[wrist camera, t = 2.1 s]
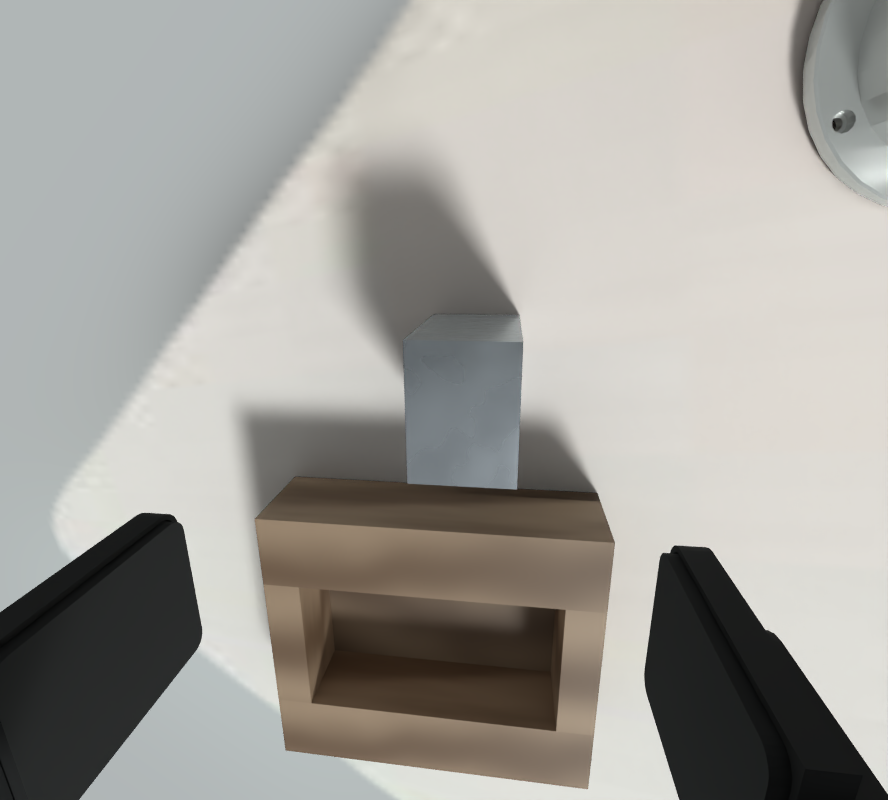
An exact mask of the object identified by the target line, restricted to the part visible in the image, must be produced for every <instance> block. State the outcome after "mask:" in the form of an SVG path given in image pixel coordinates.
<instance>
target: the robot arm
mask: <svg viewBox="0 0 888 800" xmlns="http://www.w3.org/2000/svg"><path fill="white" fill-rule="evenodd" d="M803 104H804V109H805V114H806V119H807V124H808V129H809V132H810V135H811V137H812V139H813V141H814V144H815V146H816V148H817V150H818V153H819V155H820V157H821V158H822V159H823V161H824V162H825V163H826V164H827V166H828V167H829V168H830V170H831V171H832V172H833V174H834V175H835V176H836V177H837V178H838V179H839V180H840V181H842V182H843V183H844V184H845V185H847V186H848V187H849V188H850V189H852V190H853V191H854V192H855V193H857V194H859V195H861V196H863V197H865V198H867V199H869V200H871V201H873V202H875V203H878V204H880V205H883V206H887V207H888V0H823V1H822V3H821V6H820V9H819V11H818V14H817V17H816V20H815V23H814V25H813V28H812V31H811V34H810V37H809V41H808V47H807V52H806V58H805V63H804V69H803ZM832 121H834V122H835V123H836V128H835V130H834V129H833V128H832ZM201 638H202V626H201V621H200V615H199V610H198V604H197V599H196V594H195V588H194V583H193V577H192V572H191V567H190V561H189V556H188V551H187V545H186V540H185V534H184V529H183V526H182V525H181V524H180V523H178V522H177V520H176V519H175V517H174V516H172V515H170V514H155V513H141V514H139V515H137V516H135V517H134V518H133V519H131V520H130V521H128V522H127V523H126V524H124V525H123V526H121V527H120V528H118V529H117V530H116V531H114V532H113V533H111V534H110V535H109V536H107V537H106V538H104V539H103V540H102V541H100V542H99V543H97V544H96V545H95V546H93V547H92V548H90V549H89V550H87V551H86V552H85V553H83V554H82V555H80V556H79V557H78V558H76V559H75V560H73V561H72V562H71V563H69V564H68V565H66V566H65V567H63V568H62V569H61V570H59V571H58V572H57V573H55V574H54V575H52V576H51V577H49V578H48V579H47V580H45V581H44V582H42V583H41V584H39V585H38V586H37V587H35V588H34V589H32V590H31V591H30V592H28V593H27V594H25V595H24V596H23V597H22V598H20V599H18V600H17V601H16V602H14V603H13V604H11V605H10V606H9V607H7V608H6V609H4V610H3V611H1V612H0V800H79V799H80V798H81V796H82V795H83V794H84V793H85V791H86V790H87V789H88V788H89V786H90V785H91V784H92V782H93V781H94V780H95V779H96V777H97V776H98V775H99V773H100V772H101V771H102V770H103V768H104V767H105V766H106V765H107V763H108V762H109V760H110V759H111V758H112V757H113V756H114V754H115V753H116V752H117V751H118V749H119V748H120V747H121V745H122V744H123V743H124V742H125V740H126V739H127V738H128V737H129V735H130V734H131V733H132V731H133V730H134V729H135V728H136V726H137V725H138V724H139V722H140V721H141V720H142V719H143V717H144V716H145V715H146V714H147V712H148V711H149V710H150V708H151V707H152V706H153V705H154V703H155V702H156V701H157V699H158V698H159V697H160V696H161V694H162V693H163V692H164V691H165V689H166V688H167V687H168V686H169V684H170V683H171V682H172V681H173V679H174V678H175V677H176V675H177V674H178V673H179V671H180V670H181V669H182V668H183V666H184V665H185V664H186V663H187V661H188V660H189V659H190V658H191V656H192V655H193V654H194V653H195V651H196V650H197V648H198V646H199V644H200V642H201ZM644 677H645V688H646V693H647V697H648V700H649V703H650V706H651V710H652V713H653V716H654V719H655V723H656V726H657V729H658V732H659V735H660V739H661V742H662V745H663V748H664V752H665V755H666V758H667V761H668V765H669V768H670V771H671V774H672V778H673V781H674V784H675V787H676V790H677V794H678V797H679V800H888V794H887V793H886V791H885V790H884V788H883V787H882V785H881V784H880V783H879V781H878V780H877V778H876V777H875V775H874V774H873V773H872V771H871V770H870V768H869V767H868V765H867V764H866V762H865V761H864V760H863V758H862V757H861V755H860V754H859V752H858V751H857V750H856V748H855V747H854V745H853V744H852V742H851V741H850V739H849V738H848V737H847V735H846V734H845V732H844V731H843V729H842V728H841V727H840V725H839V724H838V722H837V721H836V719H835V718H834V716H833V715H832V714H831V712H830V711H829V709H828V708H827V706H826V705H825V704H824V702H823V701H822V699H821V698H820V696H819V695H818V693H817V692H816V691H815V689H814V688H813V686H812V685H811V683H810V682H809V681H808V679H807V678H806V676H805V675H804V673H803V672H802V670H801V669H800V668H799V666H798V665H797V663H796V662H795V660H794V659H793V658H792V656H791V655H790V653H789V652H788V650H787V649H786V647H785V646H784V645H783V643H782V642H781V641H780V639H779V638H778V637H777V636H776V635H775V634H774V633H772V632H770V631H768V630H765V629H764V628H763V626H762V625H761V623H760V622H759V620H758V619H757V617H756V616H755V614H754V613H753V611H752V610H751V608H750V607H749V605H748V604H747V602H746V601H745V599H744V598H743V596H742V595H741V593H740V592H739V590H738V589H737V587H736V586H735V584H734V583H733V582H732V580H731V579H730V577H729V576H728V574H727V573H726V571H725V570H724V568H723V567H722V565H721V564H720V562H719V561H718V559H717V558H716V556H715V555H714V553H713V552H712V551H711V550H710V549H709V548H706V547H691V546H674V547H672V550H671V552H670V553H663V554H662V555H661V557H660V561H659V569H658V576H657V583H656V591H655V598H654V605H653V613H652V620H651V627H650V635H649V642H648V649H647V657H646V664H645V673H644Z"/></svg>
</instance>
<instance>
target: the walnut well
mask: <svg viewBox="0 0 888 800" xmlns="http://www.w3.org/2000/svg"><path fill="white" fill-rule="evenodd" d="M255 525H256V532H257V540H258V547H259V555H260V562H261V569H262V577H263V584H264V592H265V599H266V607H267V614H268V622H269V629H270V637H271V644H272V652H273V659H274V667H275V674H276V681H277V689H278V696H279V704H280V711H281V719H282V726H283V734H284V740H285V748H286V750H287V751H295V752H303V753H310V754H319V755H327V756H334V757H341V758H349V759H357V760H365V761H373V762H380V763H388V764H396V765H404V766H411V767H419V768H427V769H435V770H443V771H450V772H458V773H466V774H474V775H482V776H489V777H497V778H505V779H513V780H521V781H528V782H536V783H544V784H552V785H559V786H567V787H575V788H583V789H588V784H589V775H590V766H591V756H592V747H593V738H594V729H595V720H596V711H597V702H598V693H599V683H600V674H601V665H602V656H603V647H604V638H605V629H606V619H607V610H608V601H609V592H610V583H611V574H612V565H613V556H614V546H615V542H614V539H613V536H612V533H611V531H610V528H609V525H608V522H607V519H606V516H605V514H604V511H603V508H602V505H601V502H600V500H599V497H598V494H597V493H586V492H568V491H550V490H531V489H517V490H516V489H498V488H479V487H461V486H442V485H424V484H407V483H402V482H384V481H365V480H347V479H328V478H310V477H294V478H293V479H292V480H291V482H290V483H289V484H288V485H287V486H286V487H285V488H284V489H283V490H282V491H281V492H280V493H279V494H278V495H277V496H276V497H275V498H274V499H273V500H272V501H271V502H270V504H269V505H268V506H267V507H266V508H265V509H264V510H263V511H262V512H261V513H260V514H259V515H258V516H257V517H256V518H255Z"/></svg>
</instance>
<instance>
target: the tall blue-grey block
mask: <svg viewBox="0 0 888 800" xmlns="http://www.w3.org/2000/svg"><path fill="white" fill-rule="evenodd" d="M403 358H404V390H405V423H406V455H407V484H424V485H442V486H461V487H479V488H498V489H516V490H517V479H518V455H519V431H520V406H521V382H522V358H523V337H522V330H521V322H520V315H491V314H433V315H432V316H431V317H430V318H429V319H427V320H426V321H425V322H424V323H423V324H421V325H420V326H419V327H418V328H417V329H415V330H414V331H413V332H412V333H411V334H409V335H408V336H407V337H406V338H405V339H403Z"/></svg>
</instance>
